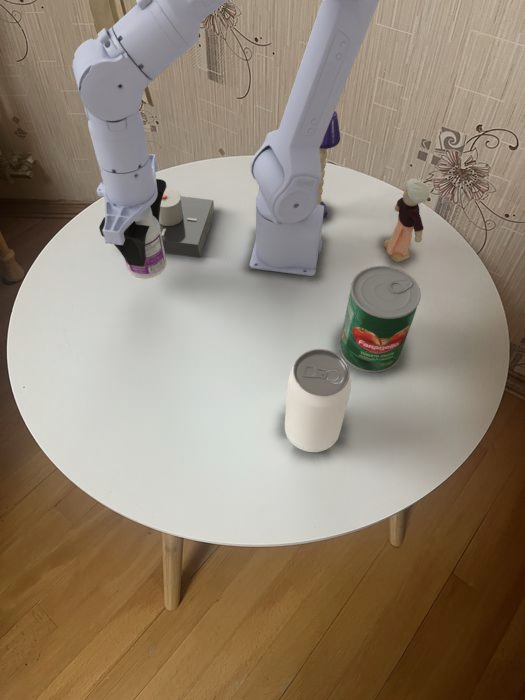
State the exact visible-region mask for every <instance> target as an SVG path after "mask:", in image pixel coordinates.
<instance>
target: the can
mask: <svg viewBox="0 0 525 700" xmlns="http://www.w3.org/2000/svg"><path fill="white" fill-rule="evenodd" d="M348 365H349V364H348V362H347V361H346V360H345V359H344V358H343V356H342V355H340V354H338V353H336V352H334V351H333V350H332V351H331V350H328V349H324V348H315V349H311V350H308V351H305V352H303V353H302V354H300V355H299V356H298V358H297V359H296V360H295V362H294V364H293V366H292V367H291V369H290V371H289V374H288V380H287V381H288V382H287V391H286V402H285V414H284V432H285V435H286V437H287V439H288V441H289V442H290V443H291V444H292V445H293V446H295V448H296V449H299V450H301V451H303V452H309V453H320V452H324V451H326V450H328V449H330V448H331V447H333V445H335V444H336V443H337V441H338V440H339V437H340V435H341V430H342V426H343V422H344V419H345V415H346V411H347V408H348V402H349V399H350V393H351V389H352V377H351V374H350V369H349V366H348Z"/></svg>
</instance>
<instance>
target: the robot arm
mask: <svg viewBox="0 0 525 700" xmlns="http://www.w3.org/2000/svg"><path fill="white" fill-rule="evenodd" d="M135 1H136V4H135V5H134V6H133V7H132V8H131V9H130V10H129V11H128V12H126V13H125V14H124V15H123V16H122V17H121V18H120V19H119V20H118V21H117V22H116V23H115V24H113V26H111V27H110V28H109V29H108V30H107V28H105V27H104V28H102V29H101V30H100V31H99V32H97V37H96V38H94V37H93V38H89V39H86V40H85V41H83V42H82V43H81V44H80V45H79V46H78V47H77V48H76V50H75V52H74V54H73V56H74V58H73V59H72V67H71V72H72V75H73V77H74V79H75V83H76V86H77V91H78V95H79V97H80V100H81V102H82V104H83V106H84V112H85V115H86V116H85V117H86V119H87V120H88V121H87V127H88V131H89V135H90V139H91V142H92V146H93V149H94V153H95V158H96V161H97V164H98V168H99V172H100V176H101V179H102V182H100V183H99V184H98V186H97V188H96V194H97V196H98V197H101V198H104V215H105V216H104V217H103V218H102V220H101V222H100V224H99V228H98V229H99V232H100V236H102V237H103V238H104V240H105V244H110V245H113V246H115V248H116V249H117V250H118V251H119V252H120V254H121V255H122V257H123V258H124V261H125V260H126V261H127V263H128V264H129V265H134V266H142V267H143V266H144V264H145V260H146V252H145V239H146V234H147V232H148V229H149V227H150V226H146V225H138V224H136V222H135V220H136V219H137V218H138V217H139V216H140V215H141V214H142V213H143V212H144V211H145V210H146V209H148V208H149V207H151V211H152V215H153V216H154V217H155V218H156V219H157V220H158V222H159V215H160V206H161V201H162V197H163V194H164V192H165V189H167V187H168V186H167V182H166V181H165V180H163V179H160V178H157V174H156V172H157V171H158V169H159V164H158V158H157V155H156V154H155V153H150V152H149V145H148V141H147V140H148V139H147V135H146V129H145V123H144V118H143V116H142V114H141V112H140V107H141V104H142V102H143V101H142V100H143V95H144V91H145V90H146V89H147V88H148V87H149V84H151V83H152V82H153V81H154V80H156V79H157V78H158V77H159V76H160V75H161V74H163V72H164V71H166V70H167V69H168V68H169V67H170V66H171V65H173V64H174V63H175V62H176V61H178V60H179V59H180V58H181V57H182V56H183V55H184V54H186V53H187V52H188V51H189V50H191V48H193V47H194V46H195V45H196V44H197V43H198V42H199V36H200V31H201V26H202V23H203V20H205V19H206V18H207V17H209V16H210V15H212V14H213V13H214V12H215V11H217V10H218V9H219V8H221V7H222V6H224V4H226V3H227V2H229V0H135ZM379 2H380V0H321V2H320V5H319V8H318V11H317V14H316V17H315V20H314V23H313V26H312V29H311V32H310V35H309V38H308V41H307V43H306V47H305V50H304V53H303V55H302V59H301V61H300V65H299V67H298V70H297V73H296V76H295V79H294V82H293V85H292V88H291V91H290V94H289V97H288V100H287V103H286V106H285V108H284V111H283V115H282V118H281V120H280V124H279V127H278V129H275V130H272V131H269V132H268V133H267V134H266V137H265V139H264V141H263V143H262V146H260V148H259V149H258V150H257V151H256V152H255V154H254V155H253V157H252V159H251V161H250V167H249V168H250V173H251V176H252V178H253V179H254V180H255V181H256V183H257V185H258V190H257V191H258V192H257V195H256V198H255V240H254V244H253V249H252V252H251V257H250V261H249V266H248V267H249V268H250V269H253V270H261V271H269V272H275V273H276V272H277V273H285V274H291V275H300V276H306V277H307V276H308V277H314V276H316V271H317V265H318V259H319V254H321V253H322V248H323V240H322V231H323V222H324V219H323V215H324V206H323V205H320V204H317V203H318V198H319V196H318V186H319V183H320V181H321V178H322V170H321V162H320V152H319V148H320V145H321V143H322V140H323V138H324V136H325V133H326V131H327V128H328V126H329V123H330V121H331V118H332V116H333V113H334V111H336V108H337V106H338V104H339V101H340V98H341V96H342V94H343V91H344V88H345V86H346V84H347V81H348V79H349V77H350V74H351V71H352V68H353V66H354V63H355V61H356V59H357V57H358V54H359V51H360V49H361V46H362V44H363V42H364V38H365V36H366V34H367V32H368V29H369V27H370V25H371V22H372V19H373V17H374V14H375V12H376V9H377V7H378V4H379Z"/></svg>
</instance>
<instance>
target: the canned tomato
mask: <svg viewBox="0 0 525 700" xmlns="http://www.w3.org/2000/svg"><path fill="white" fill-rule="evenodd" d="M421 296H422V293H421V288H420V286H419V284H418V282H417V281H416V280H415V278H413V276H411V275H410V274H409V273H408V272H405V271H404V270H403V269H400V268H397V267H394V266H389V265H374V266H370V267H367V268H365V269H363V270H361V271H359V272H358V273H357V274H356V275H355V276H354V277H353V279H352V281H351V285H350V292H349V297H348V302H347V306H346V311H345V316H344V319H343V320H344V321H343V325H342V331H341V335H340V339H339V352H340V353H341V357H342V358H343V359H344V361H345V362H346V363H347V364H348V365H350V366H351V367H353V368H354V369H356V370H358V371H361V372H365V373H369V374H371V373H374V374H376V373H382V372H385V371H388V370H389V369H392V368H393V367H395V365H396V364H397V363H398V361H399V360H400V357H401V355H402V351H403V350H404V349H403V348H404V345H405V343H406V340H407V338H408V335H409V331H410V328H411V326H412V323H413V320H414V317H415V314H416V312H417V309H418V306H419V304H420V302H421Z"/></svg>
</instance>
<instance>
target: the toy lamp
mask: <svg viewBox="0 0 525 700" xmlns="http://www.w3.org/2000/svg"><path fill="white" fill-rule="evenodd" d="M340 132H341V131H340V124H339V116H338V113H337V111H336V110H335V111H334V113H333V116H332V118H331V121H330V123H329V126H328V128H327V131H326V133H325V136H324V138H323V140H322V143H321V145H320V148H319V152H320V162H321V170H322V178H321V181H320V183H319V186H318V196H319V198H318V203H317V204H320V205H323V206H324V215H323V220H325V219H326V218H327V217H328V214H329V211H328V207H327V205H326V203H324V201H322V195H323V191H324V188H323V186H324V184H325V180H324V178H325V173H326V171H325V169H326V165H327V162H326V159H327V157H328V150H329V149H332V148H334V147H335V148H336V146H337V145H339V144H340V141H341V133H340Z"/></svg>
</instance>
